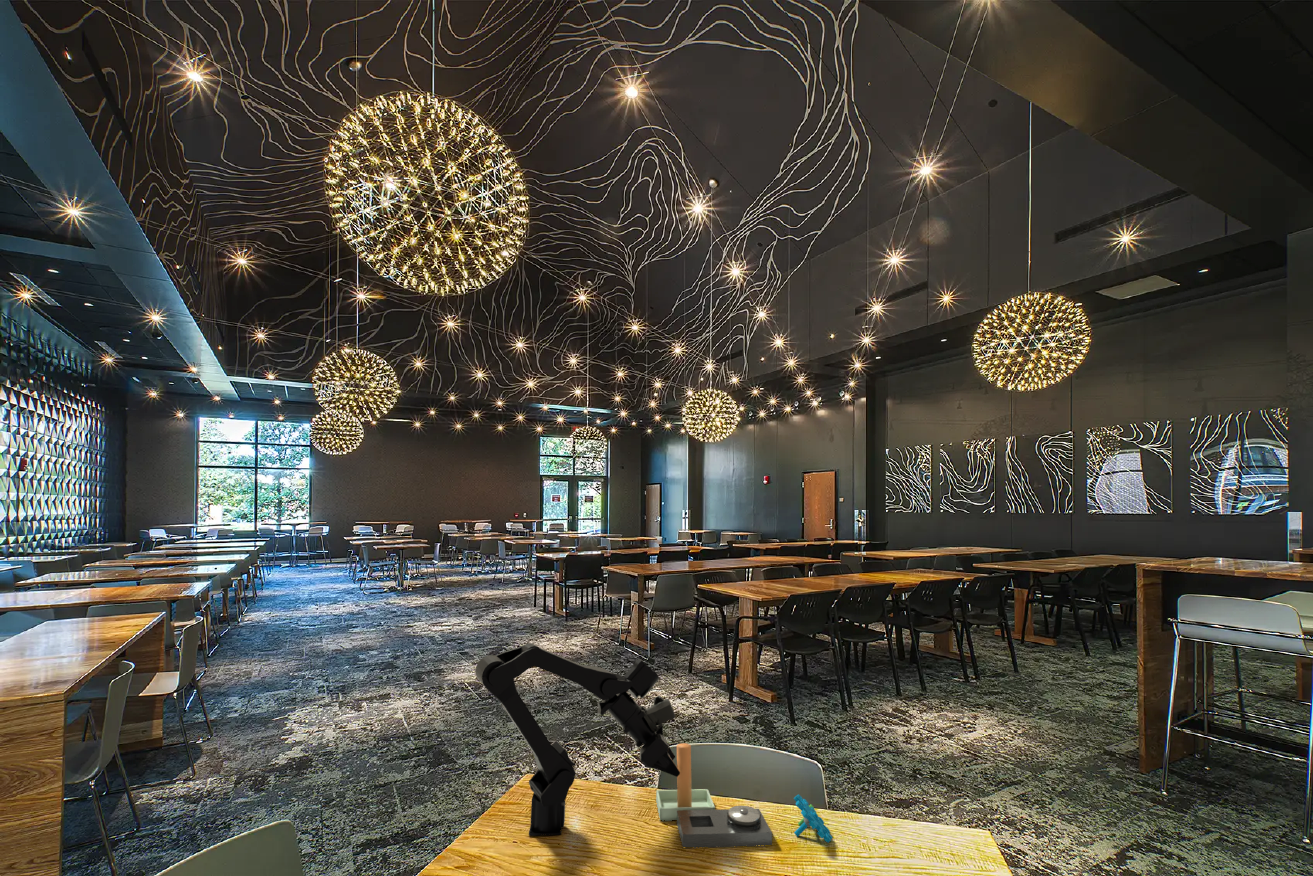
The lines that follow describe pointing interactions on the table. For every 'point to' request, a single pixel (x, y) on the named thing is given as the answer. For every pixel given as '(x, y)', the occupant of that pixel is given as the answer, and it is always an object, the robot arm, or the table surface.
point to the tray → (669, 807)
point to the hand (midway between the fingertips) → (676, 766)
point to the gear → (810, 819)
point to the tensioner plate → (723, 827)
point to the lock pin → (684, 775)
